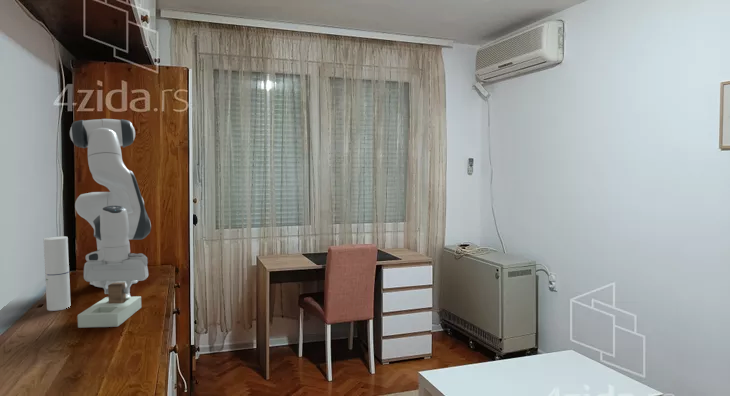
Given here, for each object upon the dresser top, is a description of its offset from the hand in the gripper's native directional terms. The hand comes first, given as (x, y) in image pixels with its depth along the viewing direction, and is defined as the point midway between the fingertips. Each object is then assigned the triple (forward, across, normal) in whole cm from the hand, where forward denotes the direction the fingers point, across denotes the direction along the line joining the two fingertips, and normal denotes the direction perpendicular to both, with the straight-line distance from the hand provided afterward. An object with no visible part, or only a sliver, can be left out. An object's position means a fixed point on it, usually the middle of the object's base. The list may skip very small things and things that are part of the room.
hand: (117, 293), depth 167 cm
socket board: (+7, 0, +5) cm, 8 cm away
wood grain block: (+7, 0, 0) cm, 7 cm away
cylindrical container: (+7, +23, -7) cm, 25 cm away
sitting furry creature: (+7, +4, -12) cm, 14 cm away
